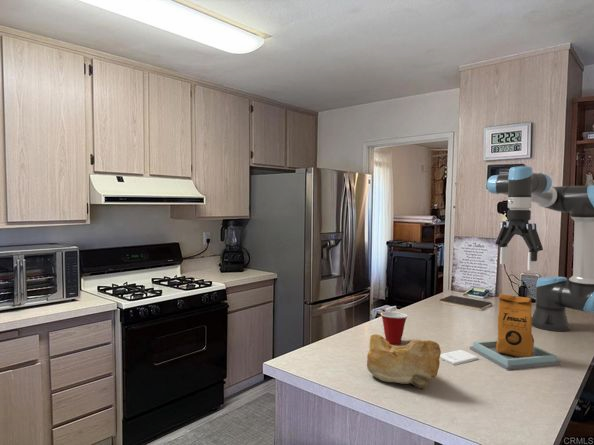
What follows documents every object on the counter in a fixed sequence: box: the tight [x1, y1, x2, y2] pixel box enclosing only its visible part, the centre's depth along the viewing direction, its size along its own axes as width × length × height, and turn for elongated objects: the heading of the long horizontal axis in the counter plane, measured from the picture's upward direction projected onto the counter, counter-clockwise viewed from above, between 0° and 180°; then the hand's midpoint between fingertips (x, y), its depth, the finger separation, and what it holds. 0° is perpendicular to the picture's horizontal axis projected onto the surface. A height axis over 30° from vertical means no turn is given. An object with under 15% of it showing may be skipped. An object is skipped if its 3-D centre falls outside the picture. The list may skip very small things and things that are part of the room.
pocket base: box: [469, 339, 561, 371], centre depth 152 cm, size 22×20×3 cm
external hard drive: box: [439, 349, 479, 366], centre depth 150 cm, size 2×8×12 cm
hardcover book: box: [439, 295, 493, 311], centre depth 229 cm, size 16×23×2 cm
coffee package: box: [496, 293, 535, 358], centre depth 151 cm, size 10×12×22 cm
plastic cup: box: [380, 311, 408, 346], centre depth 166 cm, size 11×11×12 cm
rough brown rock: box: [366, 333, 442, 390], centre depth 132 cm, size 23×17×15 cm
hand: (517, 267), depth 150 cm, fingers open, 13 cm apart
